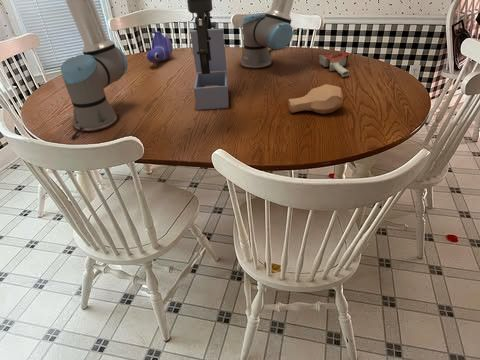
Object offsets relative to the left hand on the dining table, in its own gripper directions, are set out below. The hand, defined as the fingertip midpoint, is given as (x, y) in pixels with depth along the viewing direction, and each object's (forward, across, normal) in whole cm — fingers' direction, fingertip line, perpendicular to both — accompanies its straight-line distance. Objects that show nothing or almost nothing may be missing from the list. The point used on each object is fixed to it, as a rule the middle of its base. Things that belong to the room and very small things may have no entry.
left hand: (206, 66), depth 120 cm
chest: (+19, +16, 0) cm, 25 cm away
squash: (+19, 0, -38) cm, 43 cm away
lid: (+1, +22, 0) cm, 22 cm away
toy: (+19, +70, +29) cm, 78 cm away
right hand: (-2, +28, 0) cm, 28 cm away
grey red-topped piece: (+19, +42, -57) cm, 73 cm away
